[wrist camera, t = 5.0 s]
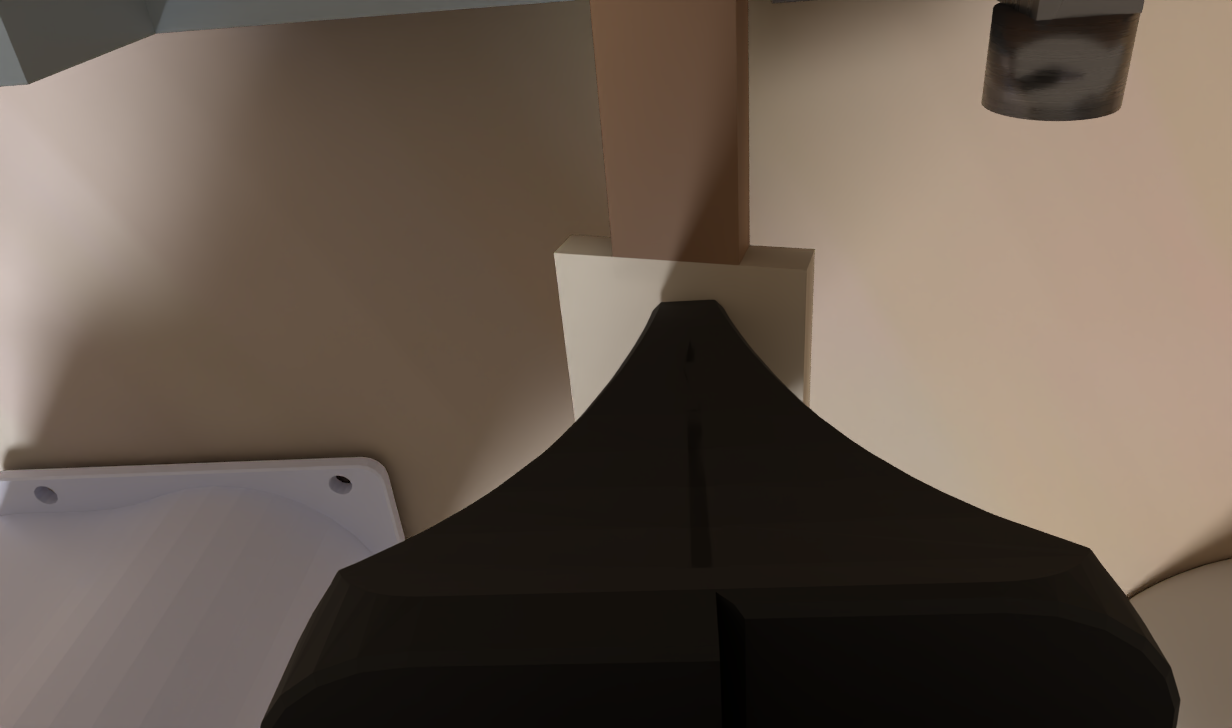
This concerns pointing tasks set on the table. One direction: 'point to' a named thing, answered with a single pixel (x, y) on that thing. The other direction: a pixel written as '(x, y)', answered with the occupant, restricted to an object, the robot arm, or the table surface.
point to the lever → (677, 197)
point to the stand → (1058, 57)
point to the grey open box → (162, 24)
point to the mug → (1195, 639)
